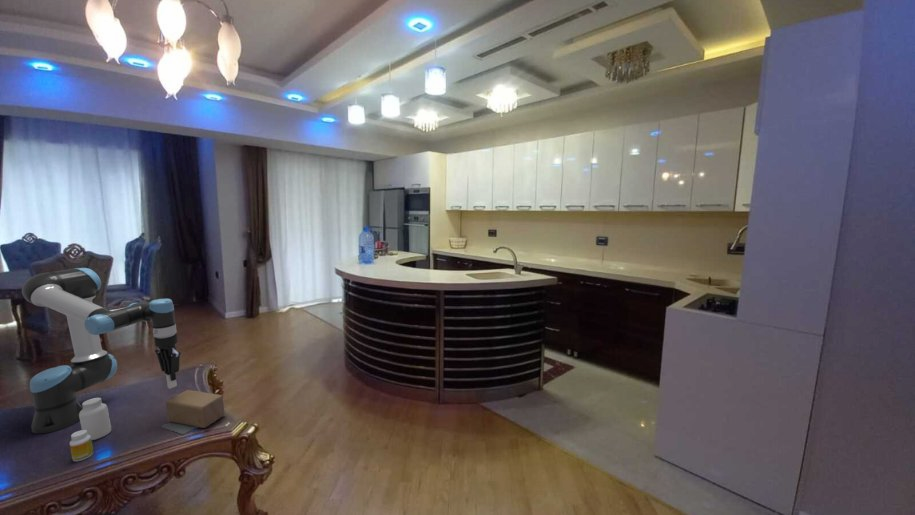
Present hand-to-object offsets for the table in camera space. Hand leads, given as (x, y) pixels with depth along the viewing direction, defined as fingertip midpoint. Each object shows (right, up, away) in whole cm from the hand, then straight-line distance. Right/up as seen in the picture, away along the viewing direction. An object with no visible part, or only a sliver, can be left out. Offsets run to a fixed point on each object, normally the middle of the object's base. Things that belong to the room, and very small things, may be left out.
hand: (172, 386), depth 150 cm
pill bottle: (-22, -16, -10) cm, 29 cm away
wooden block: (+1, -9, +2) cm, 9 cm away
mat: (+8, -15, -1) cm, 17 cm away
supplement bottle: (-15, -18, -22) cm, 32 cm away
